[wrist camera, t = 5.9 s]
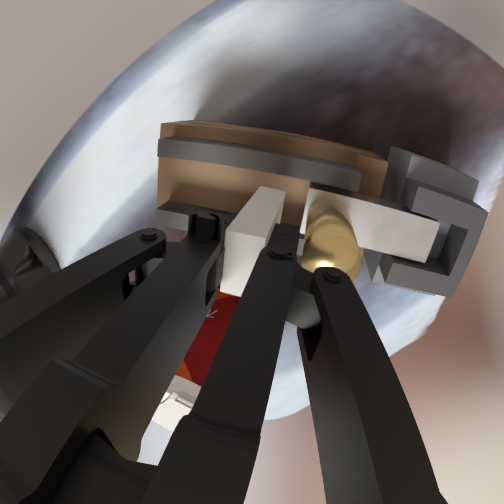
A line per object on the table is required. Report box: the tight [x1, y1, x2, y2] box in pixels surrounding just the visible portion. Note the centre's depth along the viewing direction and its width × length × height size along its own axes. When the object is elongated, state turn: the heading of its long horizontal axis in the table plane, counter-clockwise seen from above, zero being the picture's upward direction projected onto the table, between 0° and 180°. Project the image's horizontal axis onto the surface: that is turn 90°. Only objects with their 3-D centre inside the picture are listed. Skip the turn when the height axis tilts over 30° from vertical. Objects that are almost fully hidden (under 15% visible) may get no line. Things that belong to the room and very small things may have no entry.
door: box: [156, 120, 389, 257], centre depth 21 cm, size 16×8×8 cm, turn 82°
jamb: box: [363, 146, 489, 298], centre depth 20 cm, size 6×10×9 cm, turn 172°
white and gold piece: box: [300, 182, 440, 281], centre depth 15 cm, size 9×3×8 cm, turn 82°
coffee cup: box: [151, 287, 240, 432], centre depth 26 cm, size 8×8×15 cm
